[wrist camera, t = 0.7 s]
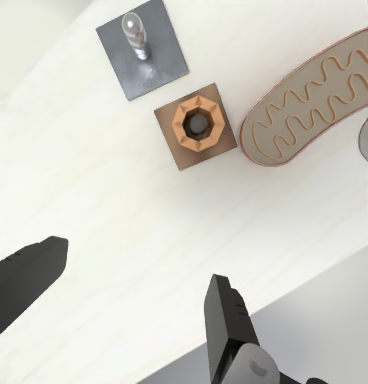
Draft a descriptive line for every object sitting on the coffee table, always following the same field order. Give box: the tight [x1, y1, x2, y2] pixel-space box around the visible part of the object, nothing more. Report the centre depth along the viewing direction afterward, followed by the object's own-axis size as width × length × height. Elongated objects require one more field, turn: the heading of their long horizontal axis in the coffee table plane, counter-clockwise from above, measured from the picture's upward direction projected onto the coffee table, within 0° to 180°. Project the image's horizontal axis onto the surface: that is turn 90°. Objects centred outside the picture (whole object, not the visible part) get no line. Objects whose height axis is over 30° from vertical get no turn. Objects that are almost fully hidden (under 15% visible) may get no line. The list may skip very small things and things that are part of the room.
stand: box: [154, 83, 237, 171], centre depth 27 cm, size 10×10×7 cm
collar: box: [172, 95, 225, 152], centre depth 27 cm, size 6×6×5 cm
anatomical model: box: [240, 27, 368, 167], centre depth 27 cm, size 23×10×5 cm, turn 126°
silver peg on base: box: [96, 0, 188, 101], centre depth 24 cm, size 10×10×7 cm
